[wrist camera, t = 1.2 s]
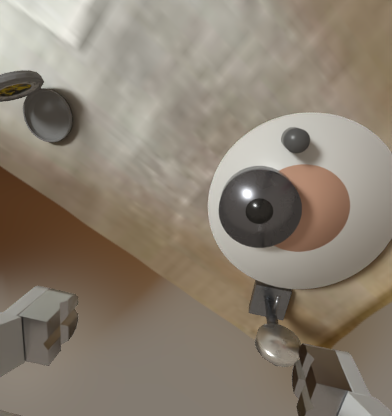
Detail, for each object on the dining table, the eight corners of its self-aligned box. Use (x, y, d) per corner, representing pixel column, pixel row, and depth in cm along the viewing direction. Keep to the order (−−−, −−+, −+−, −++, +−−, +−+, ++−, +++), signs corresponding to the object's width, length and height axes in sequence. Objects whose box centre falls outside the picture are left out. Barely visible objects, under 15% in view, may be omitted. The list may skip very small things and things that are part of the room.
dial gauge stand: (257, 272, 40) (263, 335, 29) (292, 279, 40) (312, 346, 29) (248, 307, 42) (250, 378, 31) (281, 314, 42) (296, 389, 31)
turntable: (225, 99, 33) (222, 97, 28) (422, 127, 31) (460, 131, 26) (199, 259, 41) (192, 283, 35) (355, 291, 39) (374, 321, 33)
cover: (227, 159, 33) (225, 164, 30) (306, 172, 32) (312, 179, 29) (215, 229, 36) (212, 239, 33) (286, 243, 35) (290, 254, 32)
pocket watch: (62, 151, 39) (5, 164, 29) (10, 114, 38) (-65, 115, 29) (88, 98, 36) (33, 95, 27) (31, 57, 35) (-44, 39, 26)
